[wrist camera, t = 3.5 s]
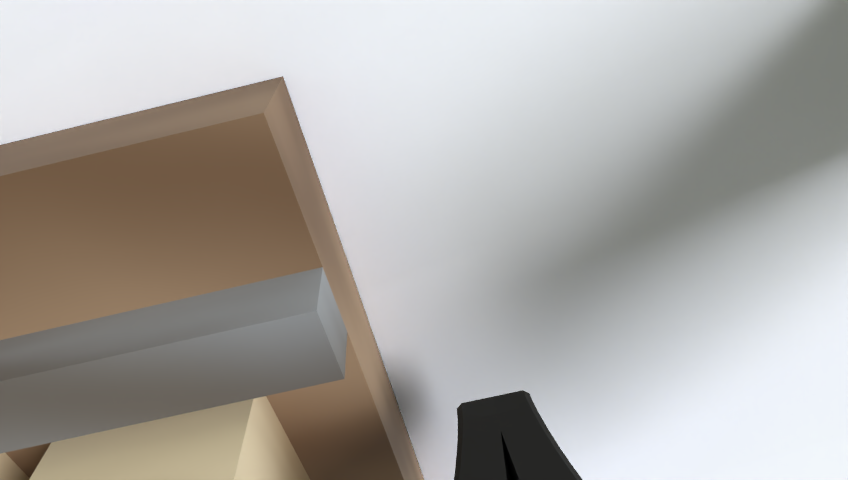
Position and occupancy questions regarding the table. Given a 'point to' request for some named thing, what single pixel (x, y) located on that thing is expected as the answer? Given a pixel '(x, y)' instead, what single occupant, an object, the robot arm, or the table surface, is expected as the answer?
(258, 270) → the slot bed
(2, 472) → the beige cube
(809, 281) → the table surface
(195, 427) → the light wooden cube
